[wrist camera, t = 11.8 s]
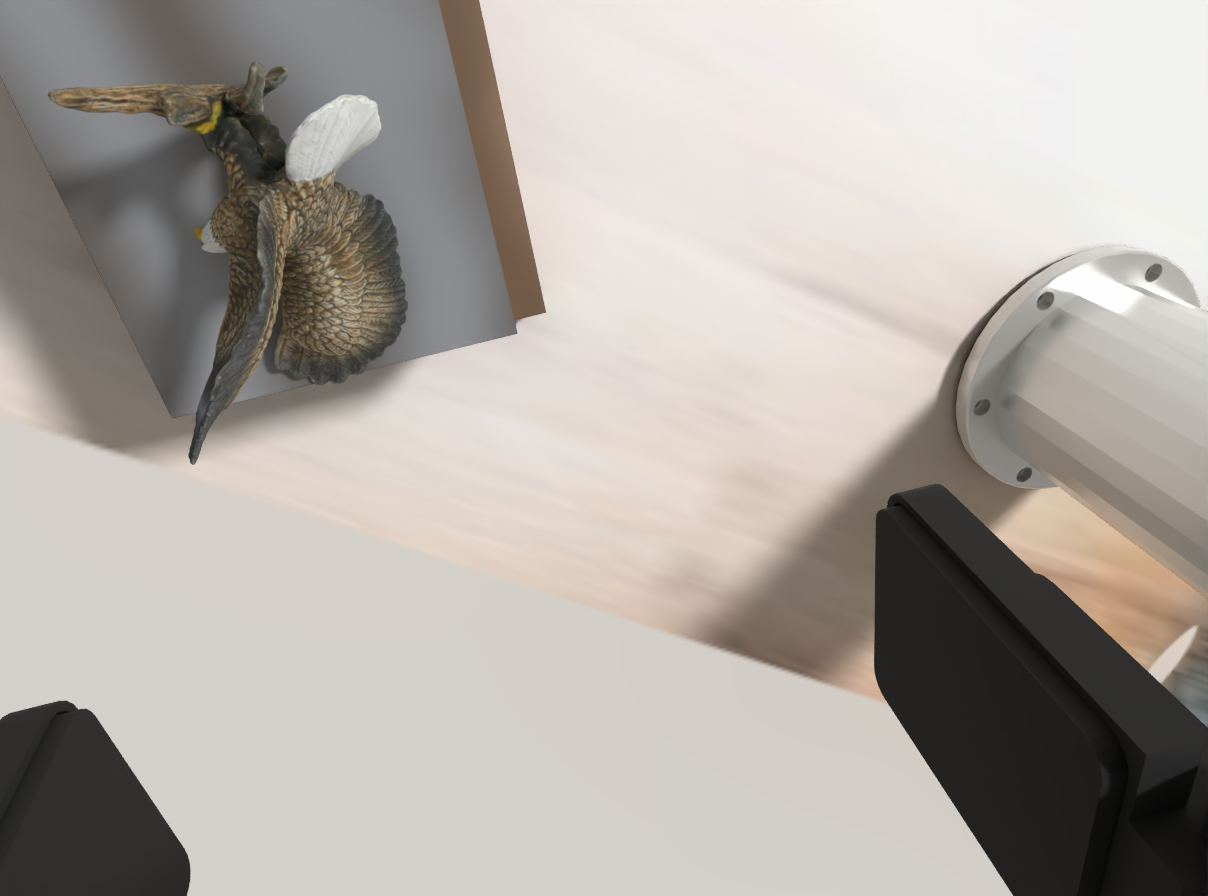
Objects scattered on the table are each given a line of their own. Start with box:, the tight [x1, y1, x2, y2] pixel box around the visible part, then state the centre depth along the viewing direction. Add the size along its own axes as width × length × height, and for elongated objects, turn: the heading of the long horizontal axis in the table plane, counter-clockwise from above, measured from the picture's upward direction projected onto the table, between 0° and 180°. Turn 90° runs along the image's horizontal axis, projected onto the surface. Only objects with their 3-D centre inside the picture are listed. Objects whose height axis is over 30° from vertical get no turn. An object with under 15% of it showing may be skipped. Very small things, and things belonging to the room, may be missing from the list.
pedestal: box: [0, 0, 546, 418], centre depth 26 cm, size 14×16×6 cm
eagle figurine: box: [48, 61, 408, 465], centre depth 22 cm, size 8×7×9 cm
